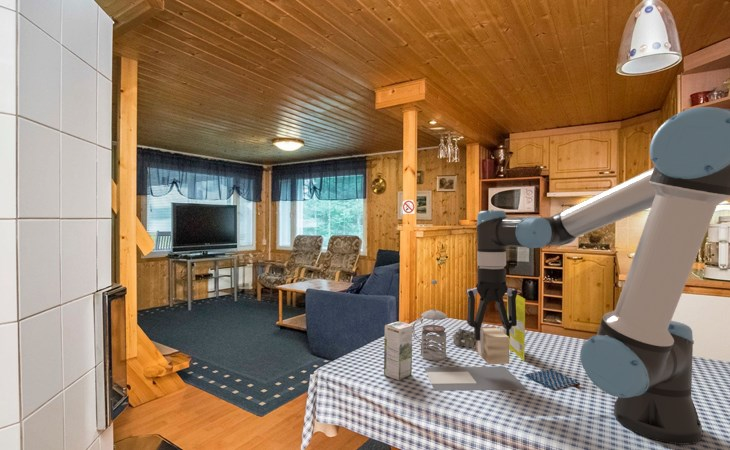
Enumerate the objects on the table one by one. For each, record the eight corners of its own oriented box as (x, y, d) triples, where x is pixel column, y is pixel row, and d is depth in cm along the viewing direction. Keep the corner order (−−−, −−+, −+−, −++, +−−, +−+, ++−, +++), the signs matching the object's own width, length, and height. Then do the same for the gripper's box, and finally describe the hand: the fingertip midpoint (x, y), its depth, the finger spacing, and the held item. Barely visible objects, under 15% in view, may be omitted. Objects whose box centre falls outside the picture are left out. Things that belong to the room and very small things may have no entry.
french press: (447, 365, 115) (448, 283, 115) (409, 361, 119) (410, 281, 119) (451, 354, 125) (451, 278, 124) (415, 350, 128) (416, 276, 128)
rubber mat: (527, 392, 98) (527, 389, 98) (434, 393, 97) (434, 390, 97) (504, 369, 113) (504, 366, 113) (423, 369, 112) (423, 366, 112)
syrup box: (396, 369, 113) (396, 320, 112) (412, 375, 108) (412, 324, 108) (383, 375, 109) (383, 324, 108) (399, 381, 104) (399, 328, 104)
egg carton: (471, 349, 131) (471, 337, 131) (450, 345, 135) (450, 334, 134) (479, 340, 140) (479, 329, 140) (459, 337, 144) (459, 326, 144)
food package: (526, 364, 117) (526, 299, 117) (522, 364, 117) (523, 299, 117) (508, 347, 132) (509, 289, 132) (505, 346, 133) (505, 289, 132)
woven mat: (521, 380, 107) (521, 373, 107) (549, 374, 111) (549, 367, 111) (553, 396, 97) (553, 388, 97) (582, 389, 101) (582, 381, 101)
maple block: (509, 363, 100) (509, 337, 100) (488, 364, 100) (488, 337, 100) (495, 350, 110) (494, 326, 110) (476, 351, 110) (476, 326, 110)
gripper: (518, 265, 109) (519, 346, 109) (454, 265, 108) (454, 347, 108) (531, 268, 101) (531, 355, 101) (461, 269, 101) (462, 357, 101)
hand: (491, 351), depth 105 cm, fingers closed on maple block, 5 cm apart
